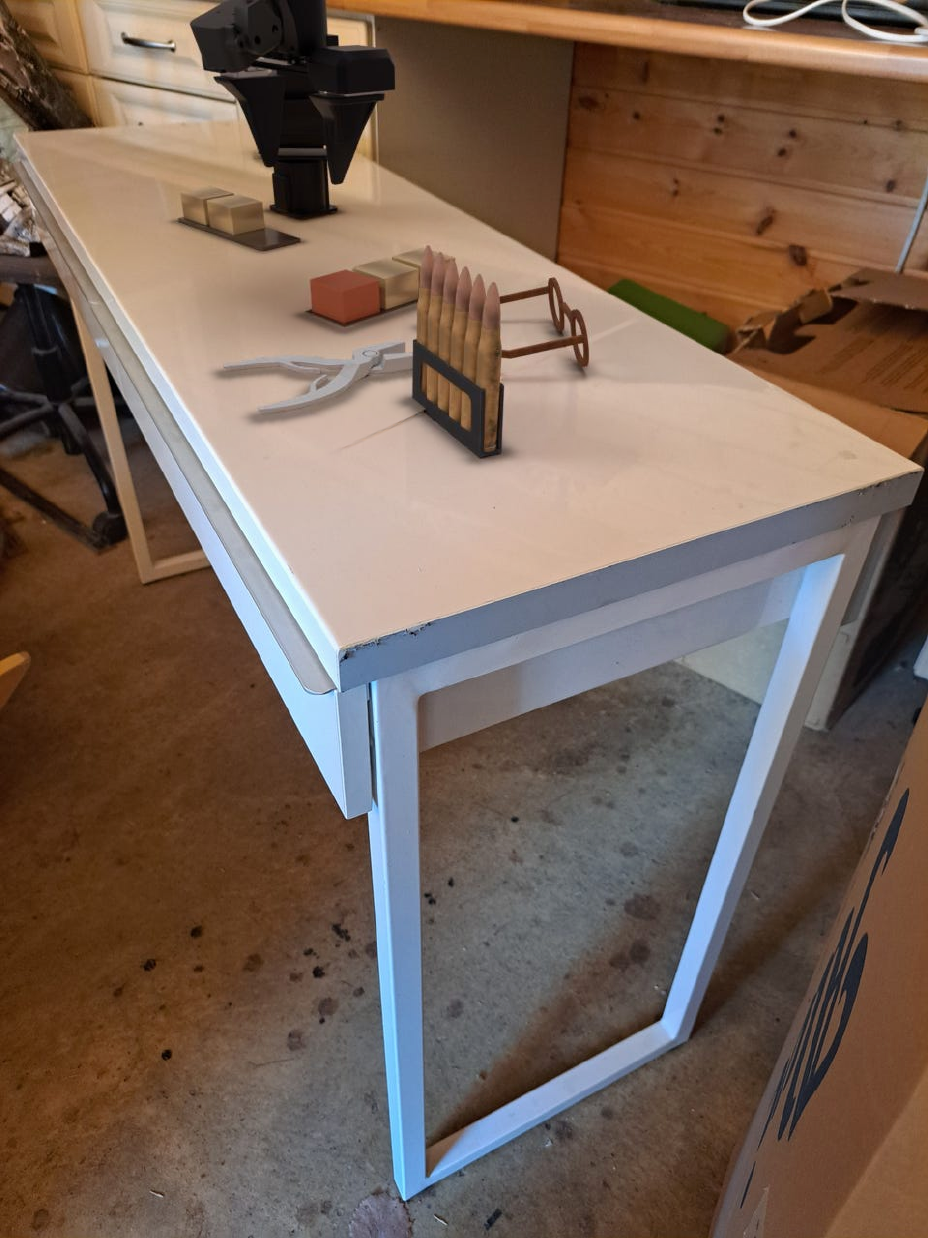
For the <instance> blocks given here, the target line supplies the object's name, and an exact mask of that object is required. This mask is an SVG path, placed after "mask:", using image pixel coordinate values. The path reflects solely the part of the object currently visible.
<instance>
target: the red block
mask: <svg viewBox="0 0 928 1238" xmlns="http://www.w3.org/2000/svg"><path fill="white" fill-rule="evenodd" d="M309 287H310V300H311V309H312V311H313V312H315V313H318V314H321V315H323V316H326V317H328V318H331V319H334V320H336V321H339V322H341V323H344V324H345V323H348V322H351V321H354V320H357V319H360V318H363V317H366V316H370V315H373V314H376V313H379V312H380V301H379V280H376V279H373V278H370V277H367V276H364V275H361V274H358V273H355V272H353V270H350V269H349V270H348V269H342V270H338V271H335V272H332V273H328V274H324V275H321V276H317V277H313V278H310V279H309Z"/></svg>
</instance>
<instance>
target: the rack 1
mask: <svg viewBox="0 0 928 1238" xmlns="http://www.w3.org/2000/svg"><path fill="white" fill-rule="evenodd" d="M179 196H180V203H181V208H182V217H181V216H180V217H178V218H177V221H178V222H179V223H182V224H183V225H184V224H185V225H188V226H190V227H193V228H197V229H199V230H202V231H204V232H207V233H210V234H213V235H216V236H219V237H221V238H224V239H228V240H230V241H233V242H236V243H239V244H242V245H244V246H248V247H250V248H253V249H256V250H259V251H262V252H264V251H268V250H272V249H276V248H280V247H284V246H288V245H292V244H298V243H301V238H300V237H297V236H294V235H291V234H288V233H285V232H282V231H279V230H276V229H273V228H270V227H267V226H266V225H265V217H264V206H263V201H261V200H258V199H254V198H253V197H252V198H251V197H248V196H245V195H242V194H235V193H234V192H232V191H228V190H225V189H222V188H219V187H216V186H213V185H211V186H203V187H199V188H193V189H188V190H182V191H180V192H179Z"/></svg>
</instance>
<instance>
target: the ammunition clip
mask: <svg viewBox="0 0 928 1238" xmlns="http://www.w3.org/2000/svg"><path fill="white" fill-rule="evenodd" d="M431 247H432V246H431V245H430V244H427V245H426V247H425V251H424V254H423V258H422V263H421V271H420V286H419V299H418V303H416V304H417V305H416V338H414V339H412V353H413V366H412V369H411V371H412V372H411V373H412V374H411V375H412V376H411V398H412V399H413V400H414V401H415V402H417V403H418V404H419V405H420V406H422V408H424V409H423V410H422V411H423V412H424V413H425V414H426V415H427V416H428V417H430V418H431V419H432V420H433V421H434V422H436V423H437V424H439V426H441V427H442V428H443V429H444V430H445V431H446V432H447V433H449V434H450V435H451V436H452V437H454V438H455V439H456V440H457V441H458V442H460V443H461V444H462V445H464V447H466V448H467V449H468V450H469V451H470V452H471V453H473V454H474V455H475V456H477V457H478V458H480V459H481V458H484V457H488V456H492V455H497V454H500V453H502V451H503V450H502V448H503V425H504V400H505V399H504V398H505V385H504V383H502V382H501V372H502V358H501V357H502V350H503V347H502V339H501V333H502V331H501V315H502V313H501V304H500V299H499V297H500V293H499V290H498V286H497V283H496V282H495V281H492V282H491V283H490V285H489V287H488V290H487V292H486V287H485V283H484V279H483V276H482V274H481V273H477V275H476V277H475V278H474V281H473V283H472V277H471V273H470V271H469V267H468V266H467V265H465V266H463V267H462V269H461V272H460V274H459V270H458V265H457V263H456V259H455V260H454V259H451V261H450V263H449V265H448V268H446V263H445V259H444V257H443V254H444V253H443V252H441V251H438V252H439V253H438V255H437V257H436V260H435V261H434V256H433V252H432V251H433V249H432V248H431Z"/></svg>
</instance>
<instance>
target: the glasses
mask: <svg viewBox="0 0 928 1238" xmlns="http://www.w3.org/2000/svg"><path fill="white" fill-rule="evenodd" d="M554 292H555V296H556V299H557V300H556V301H557V306H558V315H557V312H556V311H557V310H556V306H555V298H554V297H555V296H554ZM545 295H548V303H549V304H548V305H549V309H550V314H551V319H552V322H553V325H554V327H555V329H556V331H557V332H563V331H564V330H565V326H566V325H565V323H566V322H565V320H566V319H565V317H566V318H567V320H568V322H569V326H570V336H569V337H563V338H560V339H555V340H550V341H545V342H541V343H535V344H531V345H527V346H523V347H519V348H513V349H509V350H508V349H502V357H501V359H508V360H509V359H517V358H520V357H525V356H530V355H534V354H539V353H544V352H548V351H554V350H557V349H562V348H567V347H571V346H572V348H573V352H574V356H575V358H576V361H577V363H578V365H579V366H580V367H581V368H585V367H586V368H587V367H588V366H589V362H590V346H589V345H590V344H589V338H588V337H589V336H588V332H587V331H588V330H587V327H586V323H585V320H584V317H583V315H582V312H581V311H580V310H579V309H578V308H574V309H572V310H571V308H570V307H569V306H568V303H566V301H564V299H563V294H562V290H561V287H560V285H559V282H558V280H557V278H556V277H554V276H553V277H549V278H548V280H547V286H546V285H545V286H541V287H536V288H533V289H528V290H523V291H519V292H513V293H509V294H505V295H499V299H500V305H503V304H507V303H512V302H516V301H521V300H526V299H530V298H536V297H539V296H545ZM577 323H578V327H579V330H580V334H577ZM580 344H582V353H581V350H580V346H579V345H580Z"/></svg>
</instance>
